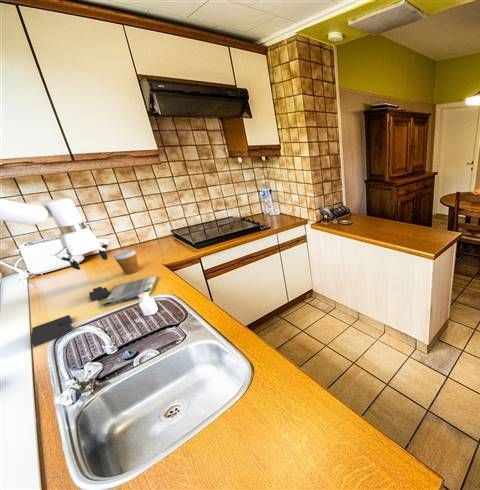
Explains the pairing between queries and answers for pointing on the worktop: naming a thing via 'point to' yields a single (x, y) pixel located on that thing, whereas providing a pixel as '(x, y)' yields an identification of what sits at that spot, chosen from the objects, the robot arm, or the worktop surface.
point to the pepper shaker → (147, 304)
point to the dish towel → (130, 290)
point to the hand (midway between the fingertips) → (92, 264)
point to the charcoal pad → (51, 330)
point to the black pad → (99, 294)
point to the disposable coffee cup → (127, 261)
